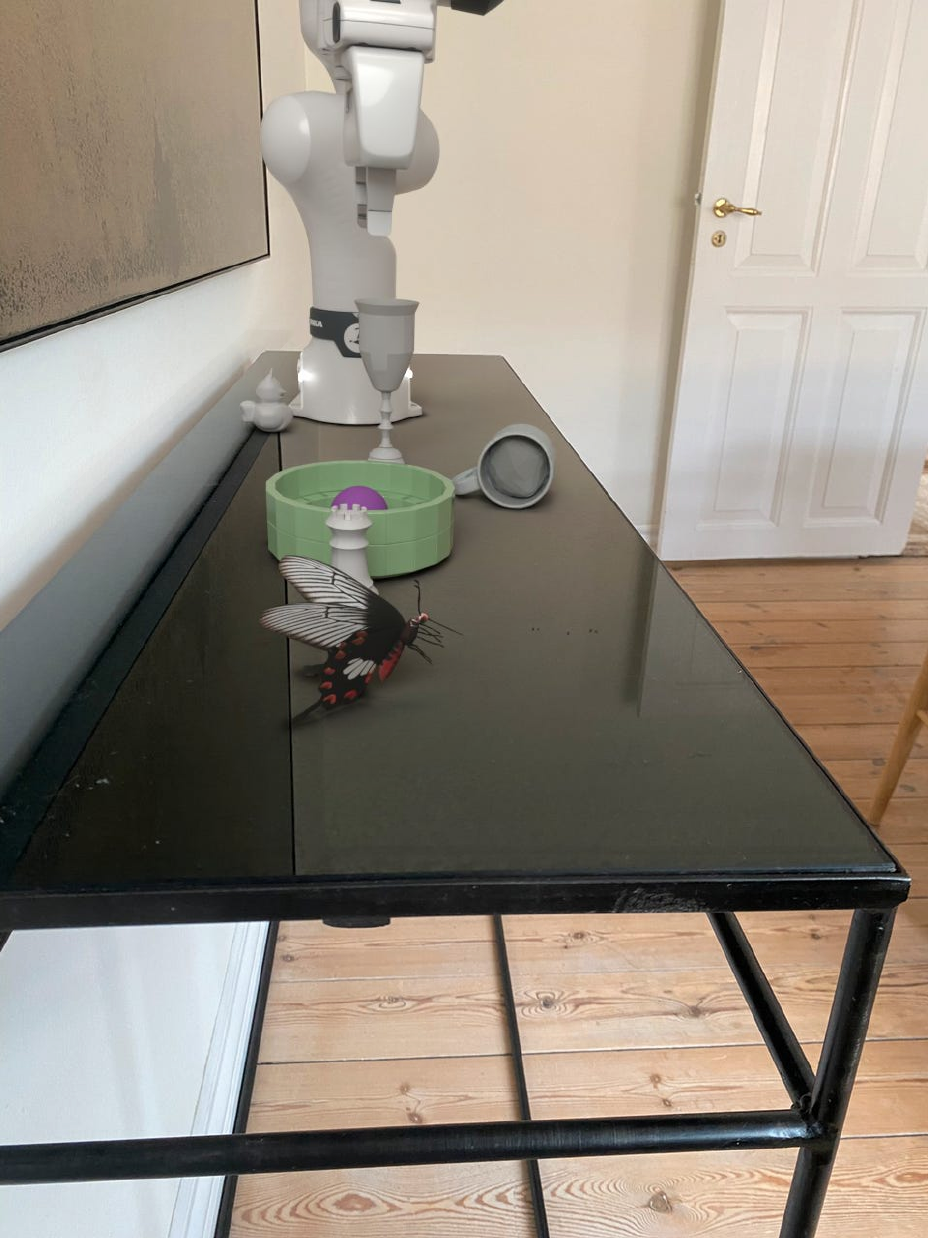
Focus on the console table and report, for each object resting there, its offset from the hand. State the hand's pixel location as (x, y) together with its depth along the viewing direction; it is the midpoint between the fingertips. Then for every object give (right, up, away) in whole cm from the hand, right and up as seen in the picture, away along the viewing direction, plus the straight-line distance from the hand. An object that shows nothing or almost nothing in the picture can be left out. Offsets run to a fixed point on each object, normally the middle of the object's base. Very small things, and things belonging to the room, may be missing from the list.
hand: (372, 231), depth 75 cm
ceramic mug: (+11, -19, +21) cm, 31 cm away
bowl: (-1, -25, +5) cm, 26 cm away
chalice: (-1, -15, +29) cm, 33 cm away
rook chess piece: (-1, -31, -7) cm, 32 cm away
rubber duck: (-18, -7, +44) cm, 48 cm away
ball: (-1, -22, +4) cm, 23 cm away
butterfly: (+1, -37, -20) cm, 42 cm away
